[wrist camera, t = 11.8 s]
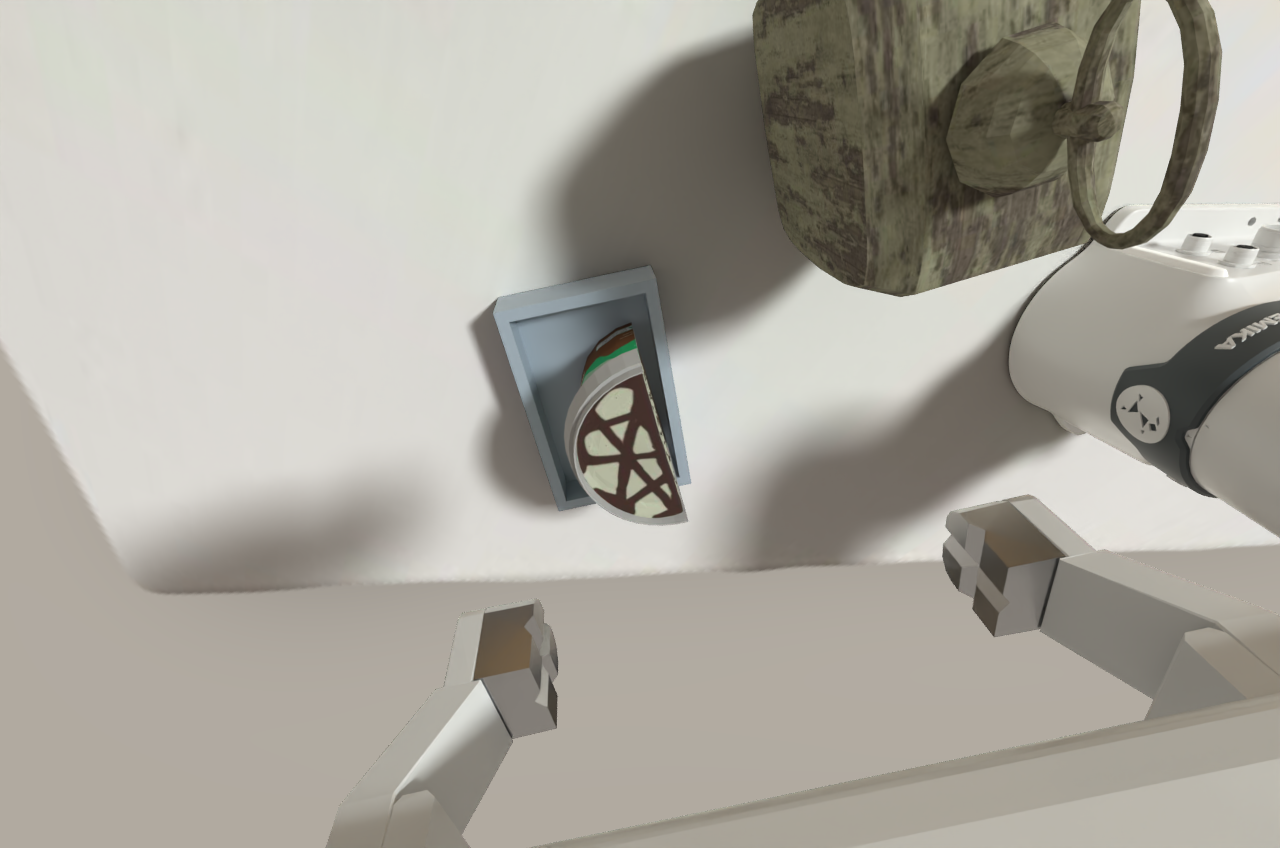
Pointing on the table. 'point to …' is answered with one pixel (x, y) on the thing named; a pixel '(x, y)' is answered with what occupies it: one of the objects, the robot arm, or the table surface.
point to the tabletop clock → (962, 129)
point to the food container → (622, 436)
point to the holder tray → (584, 360)
